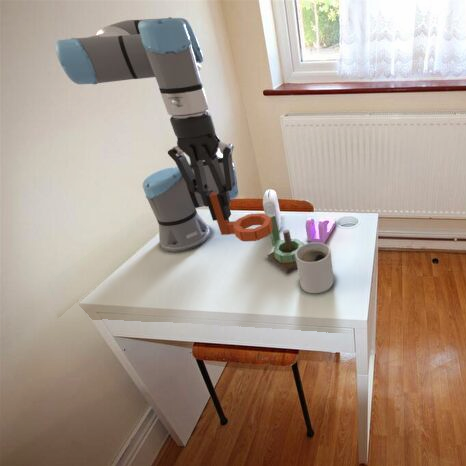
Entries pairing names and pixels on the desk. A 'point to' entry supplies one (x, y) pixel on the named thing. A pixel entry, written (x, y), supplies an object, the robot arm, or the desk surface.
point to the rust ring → (242, 223)
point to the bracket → (319, 229)
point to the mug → (314, 267)
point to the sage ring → (282, 244)
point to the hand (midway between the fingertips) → (222, 217)
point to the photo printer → (272, 206)
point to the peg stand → (284, 266)
